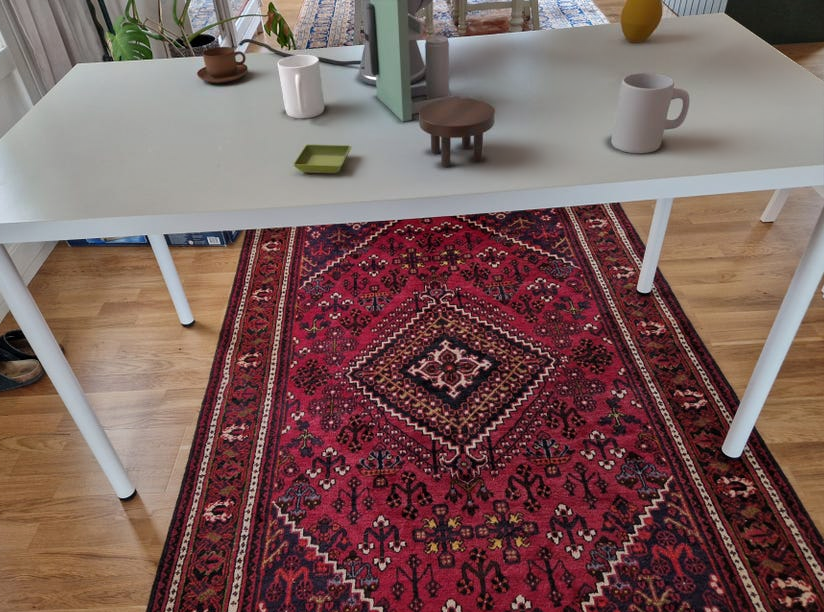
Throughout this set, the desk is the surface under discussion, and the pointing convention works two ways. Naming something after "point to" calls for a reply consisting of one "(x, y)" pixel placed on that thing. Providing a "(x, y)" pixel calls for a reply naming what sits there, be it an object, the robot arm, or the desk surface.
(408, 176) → the desk surface
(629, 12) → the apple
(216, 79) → the cup and saucer
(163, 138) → the desk surface
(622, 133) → the mug
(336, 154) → the green square dish
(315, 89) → the cup
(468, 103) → the stool
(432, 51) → the beverage can
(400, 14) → the mint green upright panel
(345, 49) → the desk surface
